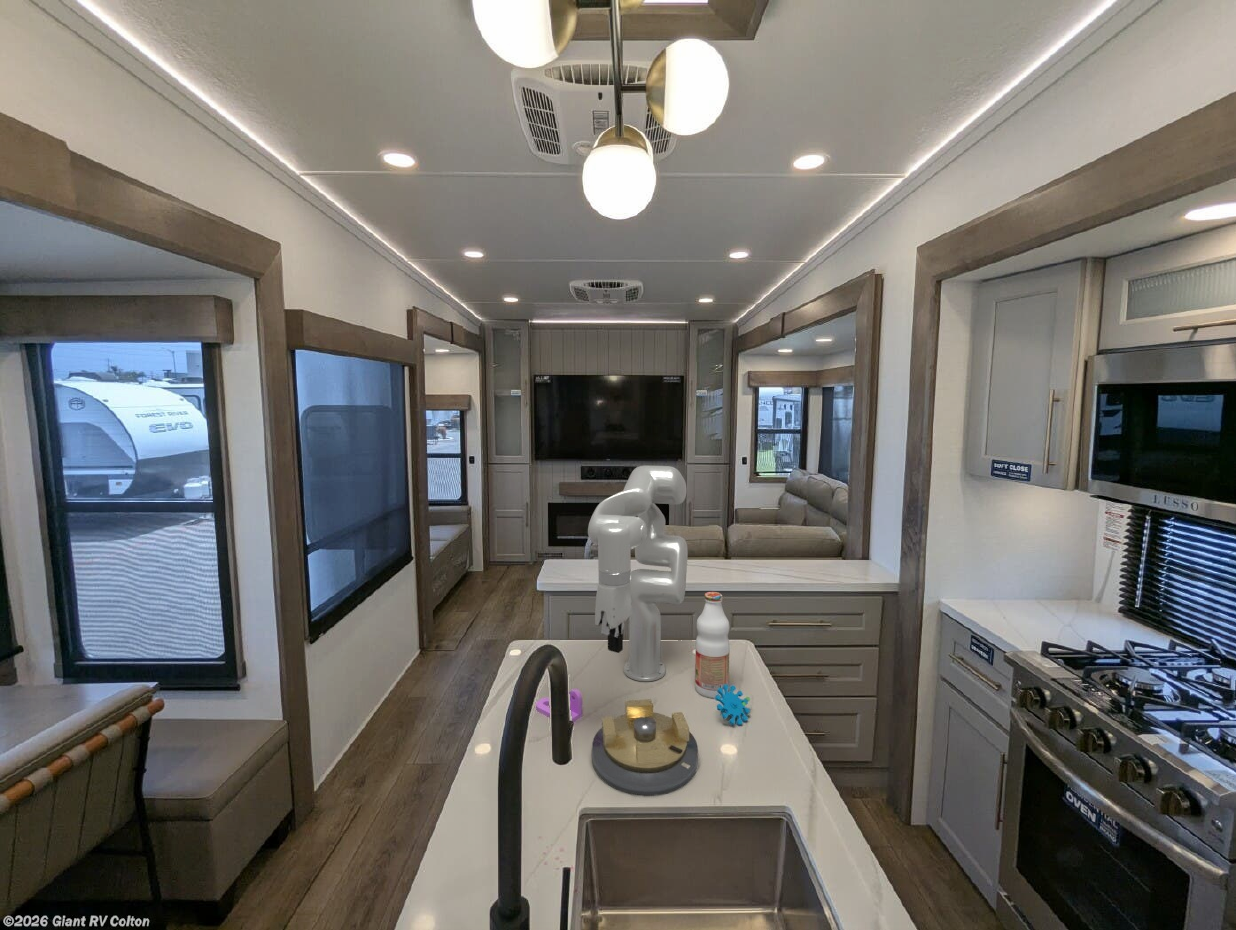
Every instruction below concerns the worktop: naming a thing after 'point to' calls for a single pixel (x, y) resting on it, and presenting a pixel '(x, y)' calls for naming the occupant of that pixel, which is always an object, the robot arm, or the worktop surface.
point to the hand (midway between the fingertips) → (615, 650)
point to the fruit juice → (712, 647)
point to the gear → (732, 704)
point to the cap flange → (640, 780)
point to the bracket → (574, 705)
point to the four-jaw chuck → (645, 738)
